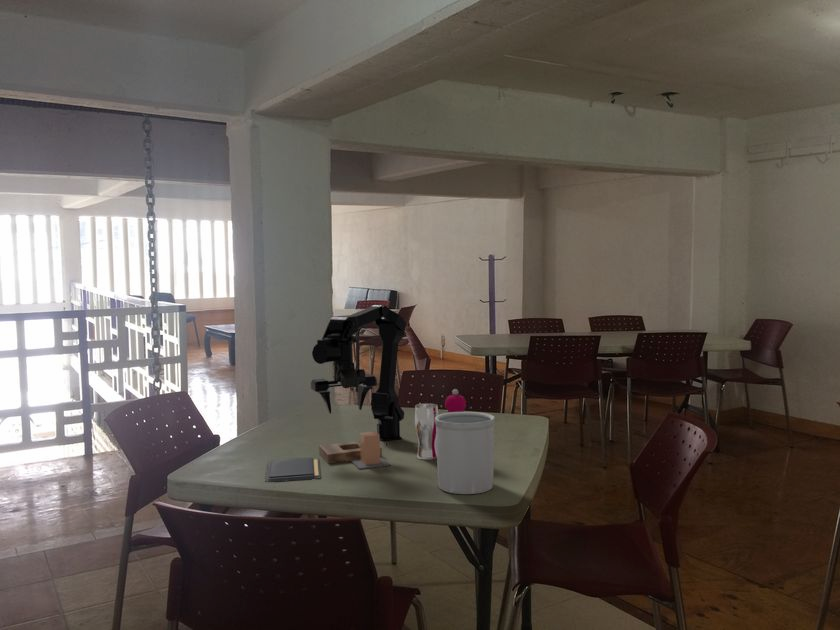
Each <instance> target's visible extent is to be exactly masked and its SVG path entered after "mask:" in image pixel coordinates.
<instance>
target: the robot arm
mask: <svg viewBox="0 0 840 630" xmlns="http://www.w3.org/2000/svg"><path fill="white" fill-rule="evenodd" d="M371 323H374V325H375V326H377V328H378V335H379V337H380V339H381V341H382V350H381V359H380V372H379V383H378V379H377V377H376V376H375V375H372V374H370V373H368V374H366V371H365V369H364V368H363V369H362V368H361V369H356V368H355V362H354V356H353V355H354V353H353V352H354V351H353V350H354V349H353V343H354V344H355V343H357V341H358V340H357V339H356V338H355V337H354V336H353V335H355V334H357V333H358V332H359V330H360V328H361V327H363V326H366V325H368V324H371ZM405 330H406V321H405V320H404V318H403V316H401V315H400V314H399V313H397V312H395V311H394V310H391V309H390V307H388V306H387V305H385V304H373V305H371V306H369V307H367V308H364V309H362V310H360V311H357V312H355V313H352V314H350V315H349V314H347V315H346V314H345V315H335V316H332V317H330V319H329V322H328V324H327V327H326V329H325V330H324V333H323V336H322V338H321V339H317V342H316V343H317V344H315V345H314V346H313V349H312V351H311V354H312V355H311V356H312V358H313V360H314V362H316V363H317V364H319V365H323V364H326V363H327V364H328V363H332V366H333V380H328V379H326V378H316V379H314V378H313V379H312V380H311V381H310V389H311V390H312V391H314V392H316V393H317V394H319V395H320V396H321V399H323V402H324V405H325V406H326V409H327V411H328V413H329V414H332V405H331V391H330V390H329V388H334V387H336V388H337V387H342V388H343V389H349V388H357V400H358V401H357V403H358V404H357V405H358V406H357V407H358V410H359V411H362V409H363V405H364V402H365V400H366V399H365V398H366V396H367V394H368V393H369V391H370V390H372V389H373V387H377V385H378V388H377V389H376V390H375V392H372V393H371V401H370V403H369V404H370V407H371V408H370V410H371V412H372V416H373V418H374V420H377V422H378V423H376V433H378V434H379V435H380V441H383V442H385V441H394V440H401V439H403V437H402V436H401V425H400V422H401V421H402V420H404V418H405V411H404V409H402V407H401V406H400V405H399V396H398V394H397V392H396V390H395V389H396V388H395V385H396V384H395V383H396V373H397V362H398V352H399V351H398V350H399V349H398V348H399V344H400V342H401V341H402V339H403V338H404V337H405Z"/></svg>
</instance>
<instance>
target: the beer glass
mask: <svg viewBox="0 0 840 630" xmlns="http://www.w3.org/2000/svg"><path fill="white" fill-rule="evenodd" d="M438 407H439V406H438V404H435V403H418V404H416V405H414V417H413V418H414V429H415V433H416V438H417V453H416V458H417V459H419V460H425V461H428V460H429V461H430V460H434V459H437V440H436V424H435V417H436V416H437V415H439V409H438Z"/></svg>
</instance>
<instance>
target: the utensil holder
mask: <svg viewBox="0 0 840 630" xmlns="http://www.w3.org/2000/svg"><path fill="white" fill-rule="evenodd" d="M495 418H496V417H495V416H494V415H493V414H490V413H486V412H477V411H464V412H450V413H447V412H445V413H444V412H443V413H441V414H438V415H437V416H436V417H435V424H436V449H437V458H436V463H437V464H436V465H437V466H436V467H437V468H436V469H437V484H438V488H439V489H440V490H441V491H443V492H447V493H450V494H454V495H473V494H474V495H475V494H482V493H486V492H489V491H490V490H492V489H493V487H494V470H495V469H494V466H495V465H494V464H495V461H494V459H495V457H494V456H495V451H494V450H495V448H494V447H495V446H494V444H495V441H494V440H495V427H494V425H495V423H496V420H495Z"/></svg>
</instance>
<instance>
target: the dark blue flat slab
mask: <svg viewBox="0 0 840 630" xmlns="http://www.w3.org/2000/svg"><path fill="white" fill-rule="evenodd" d="M266 470H267V472H266V471H265V475H266V476H265V475H264V479H265V482H275V483H289V482H302V481H311V480H312V479H316V480H322V473H321V463H320V458H313V457H299V458H298V457H297V458H282V459H273V460H270V461H268V462H267V464H266ZM312 481H313V480H312ZM265 482H264V483H265Z"/></svg>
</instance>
